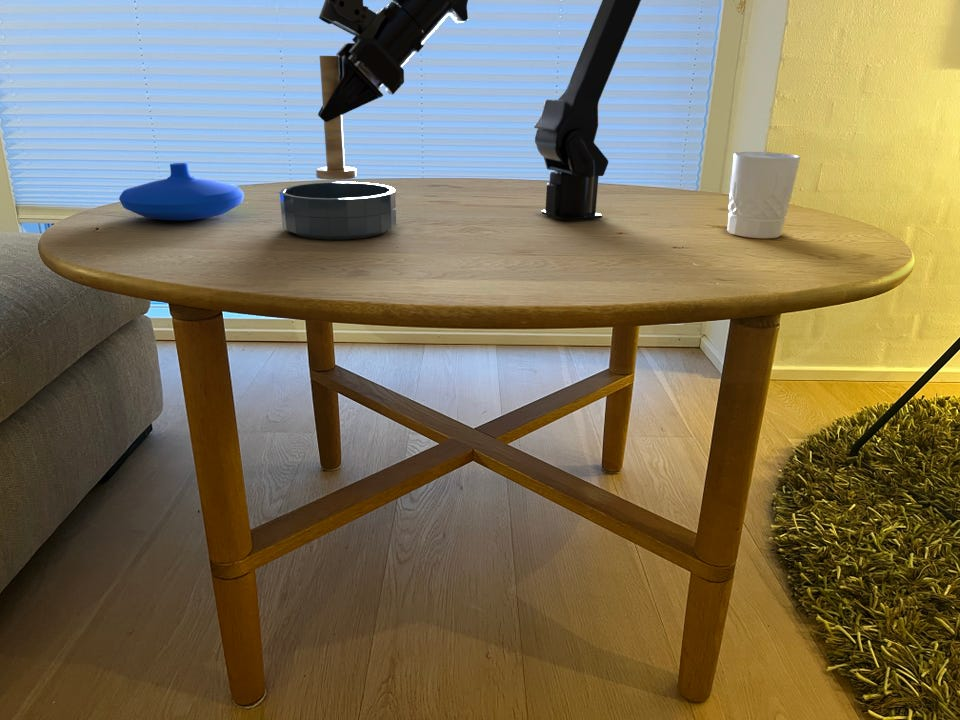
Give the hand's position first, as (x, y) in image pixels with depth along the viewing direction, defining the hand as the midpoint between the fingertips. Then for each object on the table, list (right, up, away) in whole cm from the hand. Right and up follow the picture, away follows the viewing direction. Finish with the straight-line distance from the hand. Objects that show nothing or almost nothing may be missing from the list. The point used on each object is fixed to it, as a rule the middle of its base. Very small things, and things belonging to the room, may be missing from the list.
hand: (321, 118), depth 85 cm
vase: (-21, -10, +11) cm, 26 cm away
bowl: (+1, -13, +5) cm, 14 cm away
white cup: (+55, -13, +7) cm, 57 cm away
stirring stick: (+1, -6, +3) cm, 7 cm away
